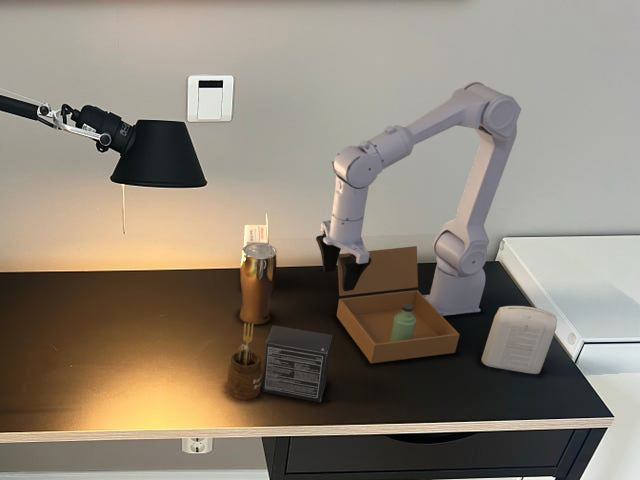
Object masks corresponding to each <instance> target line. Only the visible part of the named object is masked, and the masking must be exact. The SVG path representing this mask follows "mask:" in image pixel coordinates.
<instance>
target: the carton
mask: <svg viewBox="0 0 640 480" xmlns="http://www.w3.org/2000/svg"><path fill="white" fill-rule="evenodd" d="M423 295H424V294H422V293H421V292H420V291H419V290H418V289H413V290H406V291H405V290H404V291H395V292H385V293H378V294H369V295H361V296H360V295H359V296H351V297H343V298H339V299H338V304H337V305H338V306H337V310H336V317H337V319H338V320H339V322H340V323H341V324H342V326H343V327H344V328H345V330H346V331H347V333H348V334H349V335H350V337H351V338H352V339H353V341H354V342H355V343H356V345H357V347H358V348H359V349H360V350H361V352H362V353H363V354H364V356H365V357H366V358H367V360H368V361H369V362H370V364H376V363H384V362H393V361H400V360H408V359H415V358H425V357H430V356H431V357H432V356H438V355H448V354H454V353H456V351H457V346H458V341H459V339H460V333H459V332H458V331H457V330H456V329H455V328H454V327H453V326H452V325H451V324H450V323H449V322H448V321H447V319H445V317H444V316H442V315H441V314H440V313H439V312H438V311H437V310H436V309H435V308H434V307H433V306H432V305H431V304H430V303H429V302H428V301H427V300H426V299H425V298H424V296H423ZM403 304H411V305H413V307H414V308H413V311H412V313H411V314H413V315H414V317H415V318H416V325H415V329H414V334H413V338H412V339H411V340H402V341H394V342H390V337H391V332H392V327H393V322H394V317H395V316H396V315H397V314H399V313H400V312H402V305H403Z"/></svg>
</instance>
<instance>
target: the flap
mask: <svg viewBox="0 0 640 480" xmlns="http://www.w3.org/2000/svg"><path fill="white" fill-rule="evenodd" d="M367 251H368V252H369V253H370V254H369V257H370V258H371V263H370V264H369V265H368V266H367V268H366V269H365V270H364V271H363V273H362V274H361V276H360V278H359V280H358V282H357V284H356V286H355V288H354V290H350V291H344V290H343V288H342V278H343V273H342V266H341V263H340V260H339V258H342V257H348V256H349V257H350V253H349V252H346V253H339V257H338V261H337V272H338V273H337V274H338V294H339V297H342V296H344V297H345V296H350V295H351V296H353V295H361V294H370V293H371V294H372V293H378V292H387V291H397V290H406V289H415V288H419V274H418V273H419V272H418V270H419V269H418V246H417V245H414V246H404V247H395V248H394V247H393V248H385V249H376V250H375V249H374V250H367Z"/></svg>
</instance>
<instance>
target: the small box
mask: <svg viewBox="0 0 640 480" xmlns="http://www.w3.org/2000/svg"><path fill="white" fill-rule="evenodd" d="M332 339H333V334H328V333H321V332H315V331H308V330H303V329H298V328H291V327H285V326H279V325H272V327H271V329H270V331H269V334H268V335H267V338H266V341H265V354H264V355H265V356H264V366H263V367H264V368H263V377H262V379H263V380H262V386H261V391H262V392H264V393H268V394H273V395H279V396H283V397H289V398H293V399H298V400H299V399H300V400H305V401H310V402H314V403H321V402H322V401H323V395H324V391H325V389H326V385H327V377H328V372H329V371H328V369H329V362H330V355H331V348H332V342H333V340H332Z"/></svg>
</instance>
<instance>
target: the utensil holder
mask: <svg viewBox="0 0 640 480" xmlns="http://www.w3.org/2000/svg"><path fill="white" fill-rule="evenodd" d="M250 328H251V329H250ZM246 333H247V334H246ZM253 335H254V325H253V324H248V323H245V322H244V326H243V336H242V337H243V338H242V341H244V342H245V344H241V345H240V347H239V348H238V349H237V351H236V352H234V353H233V354H232V355H231V357H230V364H229V365H228V369H227V380H226V381H227V384H226V386H227V387H226V388H227V392H228V394H229V395H230V396H231V397H232V398H234V399H237V400H240V401H241V400H243V401H246V400H253V399H255V398H257V397H258V396H259V394H260V392H261V390H262V382H263V380H262V379H263V369H262V360H261V357H260V355H259V354H258V353H256V352H255V351H253V350H250V349H251V346H249V343H251V342H252V341H253V337H254V336H253ZM243 348H244V350H243Z"/></svg>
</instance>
